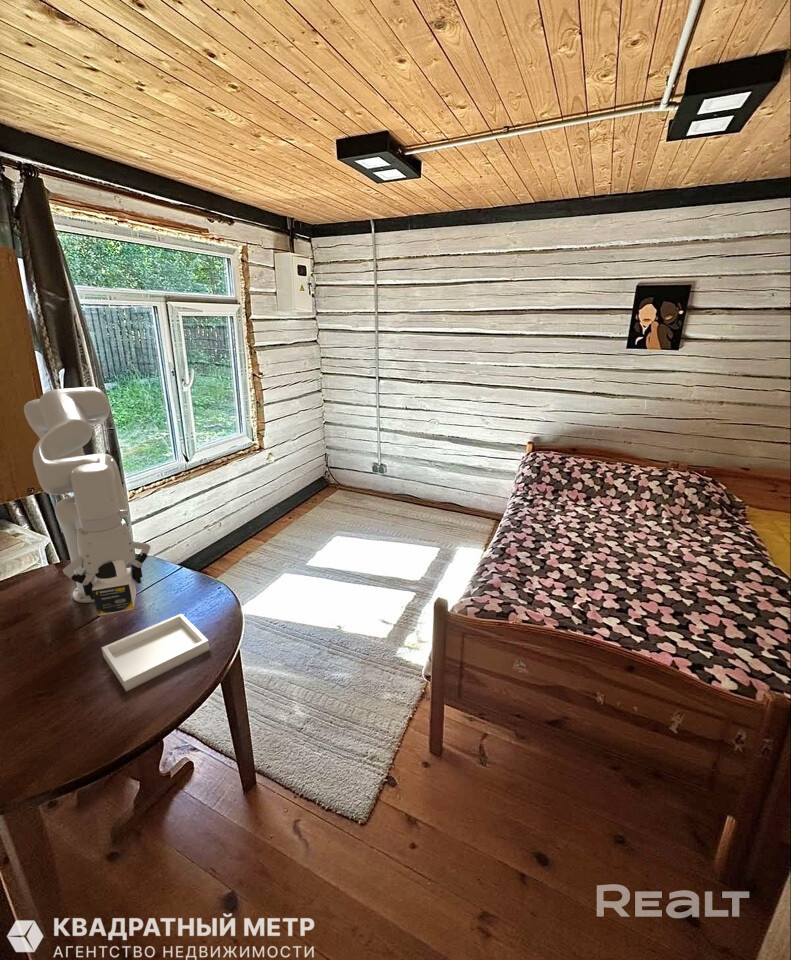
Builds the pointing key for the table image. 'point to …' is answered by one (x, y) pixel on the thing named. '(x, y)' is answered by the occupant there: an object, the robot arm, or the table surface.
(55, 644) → the table surface
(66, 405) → the robot arm
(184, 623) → the tray
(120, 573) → the medicine bottle
